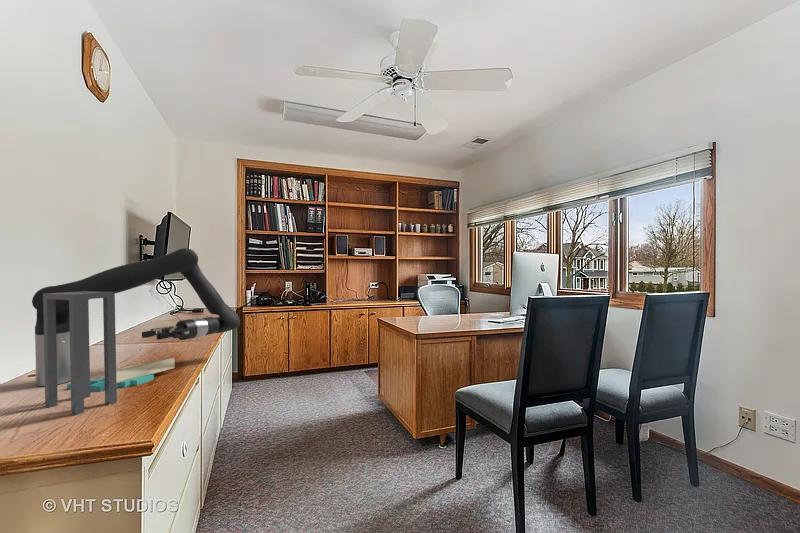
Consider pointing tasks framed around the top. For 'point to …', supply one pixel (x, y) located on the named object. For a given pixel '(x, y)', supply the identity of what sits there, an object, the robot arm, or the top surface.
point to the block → (144, 369)
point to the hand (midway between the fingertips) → (149, 335)
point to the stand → (79, 347)
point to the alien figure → (100, 383)
